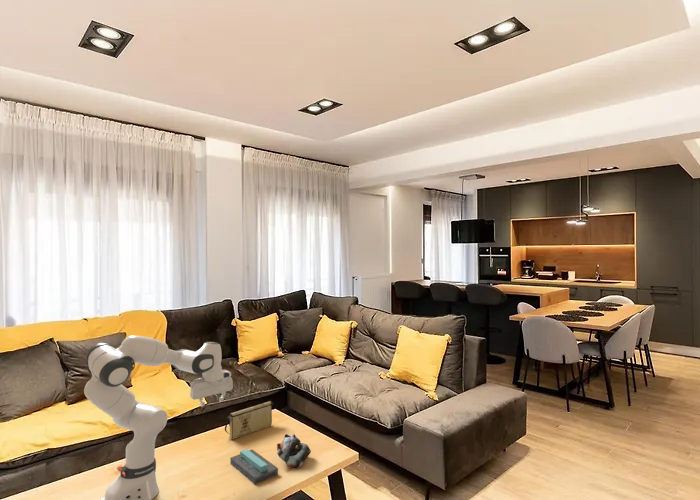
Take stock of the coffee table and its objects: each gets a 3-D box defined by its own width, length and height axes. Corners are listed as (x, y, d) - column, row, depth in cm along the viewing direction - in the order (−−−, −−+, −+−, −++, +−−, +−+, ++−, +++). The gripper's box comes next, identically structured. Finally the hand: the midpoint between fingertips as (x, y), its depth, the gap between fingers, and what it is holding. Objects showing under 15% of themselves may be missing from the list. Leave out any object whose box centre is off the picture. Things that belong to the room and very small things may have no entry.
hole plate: (255, 484, 181) (255, 478, 181) (230, 463, 199) (230, 457, 199) (277, 474, 189) (277, 468, 189) (252, 455, 207) (252, 449, 207)
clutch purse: (268, 422, 246) (268, 397, 246) (274, 425, 241) (274, 400, 241) (222, 438, 226) (222, 411, 225) (228, 442, 221) (228, 415, 220)
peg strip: (260, 478, 185) (260, 467, 185) (240, 461, 200) (240, 451, 200) (267, 475, 188) (267, 464, 188) (246, 458, 202) (246, 448, 202)
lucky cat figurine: (296, 472, 191) (281, 446, 191) (281, 473, 198) (268, 448, 199) (315, 450, 203) (302, 426, 203) (301, 452, 210) (288, 429, 210)
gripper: (193, 381, 186) (193, 411, 186) (234, 372, 200) (234, 400, 200) (188, 378, 190) (188, 407, 190) (228, 369, 204) (228, 396, 204)
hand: (212, 403), depth 195 cm, fingers open, 8 cm apart
